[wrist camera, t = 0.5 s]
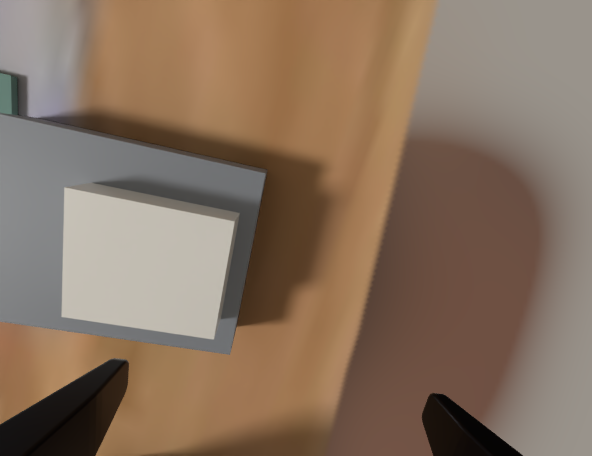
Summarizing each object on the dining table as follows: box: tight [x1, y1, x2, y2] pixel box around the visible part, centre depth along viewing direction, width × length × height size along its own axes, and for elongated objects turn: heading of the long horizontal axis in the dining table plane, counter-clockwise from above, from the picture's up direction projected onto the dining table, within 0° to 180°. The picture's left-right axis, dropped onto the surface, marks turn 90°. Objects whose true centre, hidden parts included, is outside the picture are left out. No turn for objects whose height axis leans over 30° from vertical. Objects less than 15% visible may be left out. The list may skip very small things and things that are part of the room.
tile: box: [61, 183, 240, 340], centre depth 16 cm, size 7×8×2 cm
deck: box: [0, 113, 267, 355], centre depth 18 cm, size 12×14×3 cm
